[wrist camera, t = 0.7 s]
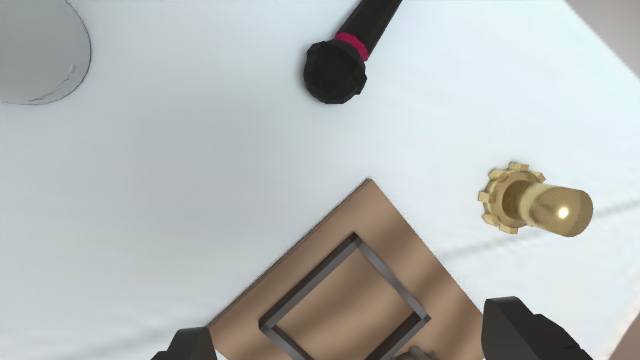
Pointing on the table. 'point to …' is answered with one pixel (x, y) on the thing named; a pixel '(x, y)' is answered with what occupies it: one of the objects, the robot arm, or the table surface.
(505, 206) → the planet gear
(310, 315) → the carrier plate
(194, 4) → the table surface
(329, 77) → the microphone
